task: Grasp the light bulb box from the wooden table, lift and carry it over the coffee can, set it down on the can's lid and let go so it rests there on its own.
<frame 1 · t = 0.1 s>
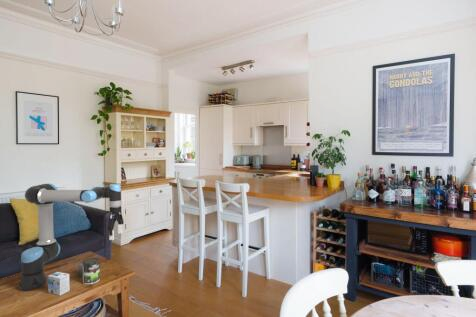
hand: (116, 236, 197), 28 cm above the table, fingers open, 13 cm apart
coffee can: (91, 281, 191), on the table
grey domed cylinder: (82, 274, 200), on the table
light bulb box: (59, 291, 177), on the table
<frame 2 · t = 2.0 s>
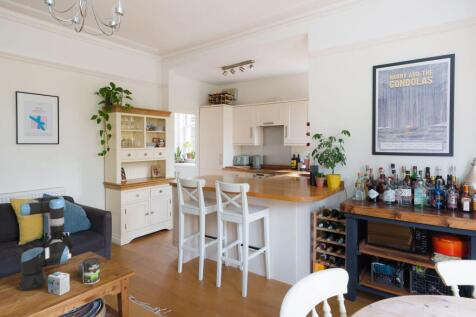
hand: (58, 258, 176), 21 cm above the table, fingers open, 13 cm apart
nothing on the table moved.
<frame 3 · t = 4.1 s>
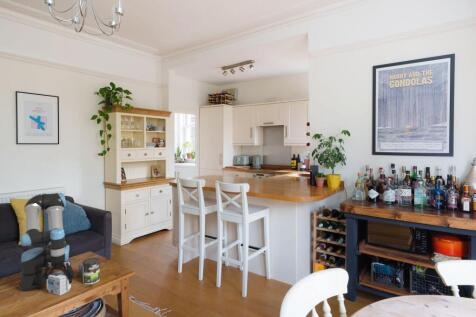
hand: (59, 288, 177), 2 cm above the table, fingers closed on light bulb box, 12 cm apart
light bulb box: (59, 291, 177), on the table, touching gripper
everything else where it was.
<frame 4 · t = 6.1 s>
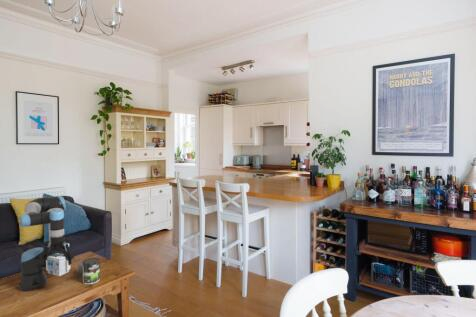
hand: (58, 269, 177), 14 cm above the table, fingers closed on light bulb box, 12 cm apart
light bulb box: (58, 272, 177), point 12 cm above the table, touching gripper
everything else where it was.
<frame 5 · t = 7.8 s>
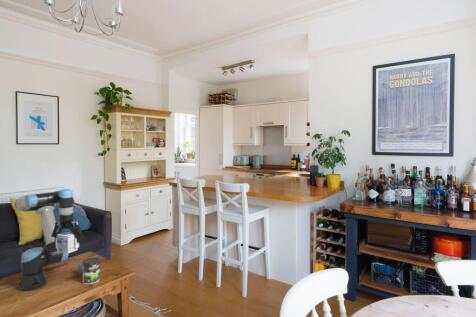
hand: (67, 247, 179), 27 cm above the table, fingers closed on light bulb box, 12 cm apart
light bulb box: (67, 251, 179), point 24 cm above the table, touching gripper
everything else where it was.
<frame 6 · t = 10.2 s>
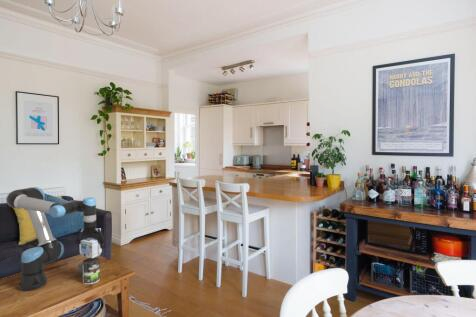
hand: (90, 252, 190), 19 cm above the table, fingers closed on light bulb box, 12 cm apart
light bulb box: (90, 255, 190), point 17 cm above the table, touching gripper
everything else where it was.
when the fingers open (17 cm above the table, at t = 11.5 s): light bulb box stays where it is, resting on coffee can.
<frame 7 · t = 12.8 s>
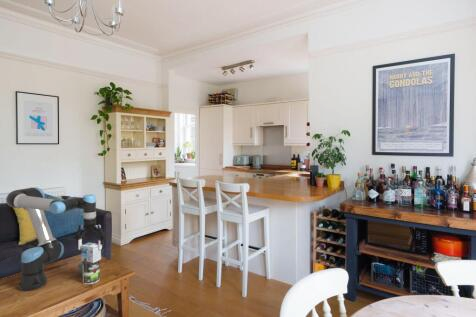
hand: (90, 249, 190), 22 cm above the table, fingers open, 13 cm apart
coffee can: (91, 281, 191), on the table, touching light bulb box
light bulb box: (91, 260, 190), point 14 cm above the table, touching coffee can
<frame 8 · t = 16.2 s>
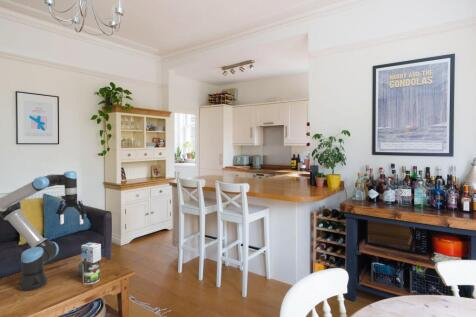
hand: (71, 223, 197), 37 cm above the table, fingers open, 13 cm apart
nothing on the table moved.
at the end: light bulb box inside the target area on the coffee can (0.3 cm from its centre), point 14.1 cm above the coffee can's base; light bulb box touching coffee can; light bulb box tilted 0° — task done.
